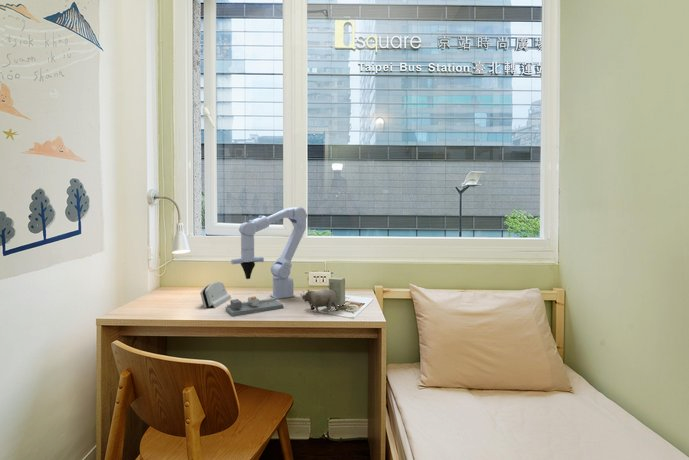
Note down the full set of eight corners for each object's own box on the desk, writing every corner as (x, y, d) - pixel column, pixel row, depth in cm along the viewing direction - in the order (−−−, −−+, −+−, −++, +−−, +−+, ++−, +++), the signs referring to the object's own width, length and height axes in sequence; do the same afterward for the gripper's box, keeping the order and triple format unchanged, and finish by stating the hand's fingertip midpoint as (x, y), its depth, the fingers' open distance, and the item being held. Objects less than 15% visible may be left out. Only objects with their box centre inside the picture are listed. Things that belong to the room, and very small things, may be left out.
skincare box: (345, 304, 166) (345, 277, 165) (341, 307, 162) (341, 279, 161) (332, 303, 169) (332, 276, 168) (328, 305, 165) (328, 278, 164)
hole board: (274, 303, 168) (274, 292, 167) (283, 307, 160) (283, 297, 160) (225, 310, 155) (225, 299, 155) (232, 316, 148) (232, 304, 147)
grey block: (254, 303, 160) (254, 295, 160) (259, 306, 156) (259, 297, 156) (248, 304, 158) (248, 296, 158) (252, 307, 154) (252, 298, 154)
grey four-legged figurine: (342, 309, 151) (321, 278, 152) (315, 327, 152) (295, 296, 154) (345, 305, 158) (325, 276, 160) (319, 322, 160) (300, 293, 161)
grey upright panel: (214, 308, 158) (207, 286, 158) (205, 311, 159) (197, 289, 159) (231, 298, 175) (224, 278, 175) (222, 301, 176) (215, 281, 175)
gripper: (259, 247, 176) (259, 275, 177) (229, 248, 168) (229, 278, 169) (265, 248, 170) (265, 278, 171) (233, 250, 162) (234, 281, 163)
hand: (247, 278), depth 170 cm, fingers closed
